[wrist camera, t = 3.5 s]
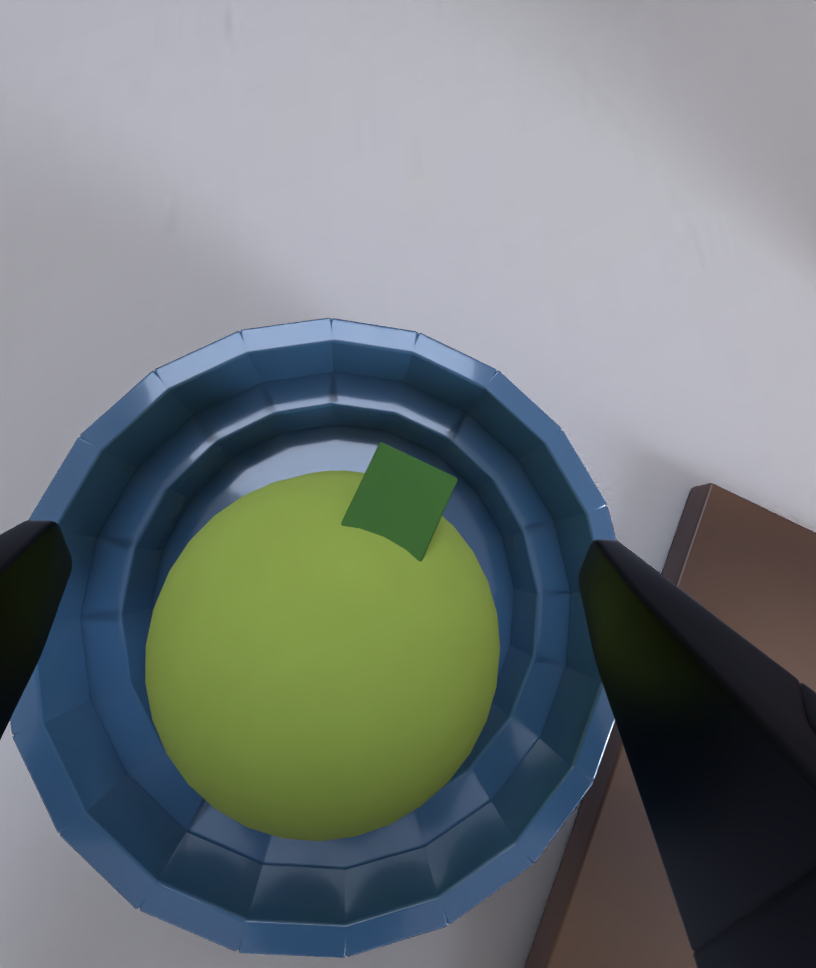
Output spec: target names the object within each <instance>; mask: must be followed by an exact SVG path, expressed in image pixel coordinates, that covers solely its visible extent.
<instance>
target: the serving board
mask: <svg viewBox="0 0 816 968" xmlns="http://www.w3.org/2000/svg"><path fill="white" fill-rule="evenodd" d="M662 575H663V576H664V577H665V578H667V579H668V580H669V581H671V582H672V583H673V584H675V585H676V586H677V587H679V588H680V589H681V590H682V591H684V592H685V593H686V594H688V595H689V596H690V597H692V598H693V599H694V600H696V601H697V602H698V603H699V604H701V605H702V606H703V607H705V608H706V609H707V610H709V611H710V612H711V613H713V614H714V615H715V616H716V617H718V618H719V619H720V620H722V621H723V622H724V623H726V624H727V625H728V626H729V627H731V628H732V629H733V630H735V631H736V632H737V633H739V634H740V635H741V636H743V637H744V638H745V639H746V640H748V641H749V642H750V643H752V644H753V645H754V646H756V647H757V648H758V649H760V650H761V651H762V652H763V653H765V654H766V655H767V656H769V657H770V658H771V659H773V660H774V661H775V662H777V663H778V664H779V665H780V666H782V667H783V668H784V669H786V670H787V671H788V672H790V673H791V674H792V675H794V676H795V677H796V678H797V679H798V680H799V683H804V684H805V685H807V686H808V687H809V688H811V689H812V690H813V691H815V692H816V533H814V532H812V531H810V530H808V529H806V528H804V527H802V526H800V525H798V524H796V523H794V522H792V521H790V520H787V519H785V518H783V517H781V516H779V515H777V514H775V513H773V512H771V511H769V510H767V509H765V508H763V507H760V506H758V505H756V504H754V503H752V502H750V501H748V500H746V499H744V498H742V497H740V496H738V495H736V494H733V493H731V492H729V491H727V490H725V489H723V488H721V487H719V486H717V485H715V484H713V483H709V484H704V485H700V486H696V487H693V488H692V489H691V492H690V495H689V498H688V501H687V504H686V506H685V509H684V512H683V515H682V518H681V521H680V524H679V527H678V529H677V532H676V535H675V538H674V541H673V544H672V547H671V550H670V552H669V555H668V558H667V561H666V564H665V567H664V570H663V572H662ZM592 781H593V784H592V786H591V787H590V788H589V790H588V791H587V792H586V794H585V796H584V799H583V802H582V805H581V808H580V811H579V814H578V817H577V819H576V822H575V825H574V828H573V831H572V834H571V837H570V840H569V842H568V845H567V848H566V851H565V854H564V857H563V860H562V863H561V865H560V868H559V871H558V874H557V877H556V880H555V883H554V886H553V888H552V891H551V894H550V897H549V900H548V903H547V906H546V908H545V911H544V914H543V917H542V920H541V923H540V926H539V929H538V931H537V934H536V937H535V940H534V943H533V946H532V949H531V952H530V954H529V957H528V960H527V963H526V966H525V968H697V965H696V962H695V959H694V956H693V953H694V951H693V950H692V948H691V946H690V943H689V940H688V937H687V934H686V931H685V928H684V925H683V922H682V919H681V916H680V913H679V910H678V907H677V904H676V901H675V898H674V895H673V892H672V889H671V886H670V883H669V880H668V877H667V874H666V871H665V868H664V865H663V862H662V859H661V856H660V853H659V850H658V847H657V844H656V841H655V838H654V835H653V832H652V829H651V826H650V823H649V820H648V817H647V815H646V812H645V809H644V806H643V803H642V800H641V797H640V794H639V791H638V788H637V785H636V782H635V779H634V776H633V773H632V770H631V767H630V764H629V761H628V758H627V755H626V752H625V749H624V746H623V743H622V740H621V737H620V734H619V731H618V728H617V725H616V722H614V725H613V728H612V731H611V733H610V736H609V739H608V742H607V745H606V748H605V751H604V754H603V756H602V759H601V762H600V765H599V768H598V771H597V774H596V777H595V779H594V780H592Z"/></svg>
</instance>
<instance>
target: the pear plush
mask: <svg viewBox="0 0 816 968" xmlns="http://www.w3.org/2000/svg"><path fill="white" fill-rule="evenodd" d="M456 483H457V478H456V477H454V476H452V475H450V474H448V473H446V472H444V471H442V470H440V469H438V468H435V467H433V466H431V465H429V464H427V463H425V462H423V461H421V460H418V459H416V458H414V457H412V456H410V455H408V454H406V453H404V452H402V451H399V450H397V449H395V448H393V447H391V446H389V445H387V444H385V443H379V445H378V447H377V449H376V451H375V453H374V455H373V457H372V460H371V462H370V464H369V466H368V468H367V470H366V472H365V473H362V472H353V471H322V472H314V473H308V474H305V475H301V476H297V477H293V478H289V479H285V480H280V481H276V482H273V483H271V484H268V485H266V486H264V487H262V488H260V489H257V490H255V491H253V492H251V493H248V494H246V495H244V496H242V497H241V498H239V499H238V500H236V501H235V502H233V503H232V504H231V505H229V506H228V507H226V508H225V509H223V510H222V511H221V512H219V513H218V514H216V515H215V516H214V517H213V518H212V519H211V520H210V521H209V522H208V523H207V524H206V525H205V526H204V527H203V528H202V529H201V530H200V531H199V532H198V533H197V534H196V535H195V536H194V537H193V538H192V539H191V540H190V541H189V542H188V544H187V545H186V547H185V548H184V550H183V551H182V553H181V554H180V556H179V557H178V559H177V560H176V562H175V563H174V565H173V566H172V568H171V569H170V571H169V573H168V575H167V578H166V580H165V583H164V585H163V587H162V590H161V592H160V595H159V597H158V599H157V602H156V604H155V607H154V609H153V614H152V618H151V623H150V628H149V633H148V637H147V642H146V662H145V685H146V690H147V695H148V700H149V705H150V710H151V715H152V720H153V723H154V725H155V727H156V730H157V732H158V734H159V737H160V739H161V741H162V744H163V746H164V749H165V751H166V753H167V755H168V756H169V758H170V759H171V761H172V762H173V764H174V765H175V766H176V768H177V769H178V771H179V772H180V774H181V775H182V776H183V778H184V779H185V781H186V782H187V783H188V785H189V786H191V787H192V788H193V789H194V790H195V791H196V792H197V793H198V794H199V795H200V796H201V797H203V798H204V799H205V800H206V801H207V802H208V803H209V804H210V805H211V806H212V807H213V808H215V809H216V810H218V811H219V812H221V813H223V814H225V815H226V816H228V817H230V818H232V819H233V820H235V821H237V822H239V823H240V824H242V825H244V826H245V827H248V828H251V829H254V830H257V831H260V832H264V833H267V834H270V835H273V836H276V837H280V838H285V839H297V840H308V841H325V840H333V839H341V838H349V837H356V836H358V835H361V834H364V833H367V832H370V831H373V830H376V829H379V828H382V827H385V826H387V825H390V824H392V823H393V822H395V821H397V820H398V819H400V818H402V817H404V816H405V815H407V814H409V813H410V812H412V811H414V810H415V809H417V808H419V807H421V806H422V805H423V804H424V803H425V802H426V801H427V800H429V799H430V798H431V797H432V796H433V795H434V794H435V793H436V792H438V791H439V790H440V789H441V788H442V787H443V786H444V785H445V784H447V783H448V782H449V780H450V779H451V778H452V776H453V775H454V774H455V773H456V771H457V770H458V769H459V767H460V766H461V765H462V763H463V762H464V761H465V760H466V758H467V757H468V756H469V754H470V753H471V751H472V749H473V747H474V745H475V743H476V741H477V739H478V737H479V735H480V733H481V731H482V729H483V727H484V725H485V723H486V721H487V718H488V714H489V711H490V707H491V704H492V700H493V697H494V694H495V690H496V686H497V675H498V665H499V655H500V640H499V629H498V617H497V611H496V608H495V604H494V601H493V597H492V593H491V590H490V586H489V583H488V580H487V578H486V576H485V574H484V572H483V570H482V568H481V566H480V564H479V562H478V560H477V558H476V556H475V554H474V552H473V551H472V550H471V548H470V547H469V546H468V544H467V543H466V542H465V540H464V539H463V538H462V536H461V535H460V534H459V532H458V531H457V530H456V528H455V527H454V526H453V525H452V524H451V523H450V522H448V521H447V520H446V519H445V518H444V517H443V516H442V514H443V512H444V510H445V508H446V505H447V503H448V501H449V499H450V496H451V494H452V492H453V490H454V487H455V485H456Z"/></svg>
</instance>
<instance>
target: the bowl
mask: <svg viewBox="0 0 816 968" xmlns="http://www.w3.org/2000/svg"><path fill="white" fill-rule="evenodd" d="M80 436H81V437H79V438H78V439H77V440H76V442H75V444H74V445H73V447H72V449H71V450H70V452H69V454H68V455H67V457H66V459H65V460H64V462H63V463H62V465H61V467H60V468H59V470H58V472H57V473H56V475H55V477H54V478H53V480H52V482H51V483H50V485H49V487H48V488H47V490H46V492H45V493H44V495H43V497H42V498H41V500H40V502H39V503H38V505H37V507H36V508H35V510H34V512H33V513H32V515H31V517H30V518H29V520H45V521H54V522H56V523H57V524H58V525H59V526H60V528H61V530H62V533H63V535H64V538H65V541H66V543H67V546H68V549H69V551H70V554H71V557H72V571H71V574H70V577H69V580H68V583H67V585H66V588H65V591H64V594H63V597H62V599H61V602H60V605H59V608H58V611H57V613H56V616H55V619H54V622H53V625H52V627H51V630H50V633H49V636H48V639H47V642H46V644H45V647H44V649H43V652H42V654H41V657H40V659H39V661H38V663H37V665H36V668H35V670H34V672H33V674H32V676H31V678H30V680H29V682H28V684H27V686H26V688H25V690H24V692H23V694H22V696H21V698H20V700H19V702H18V704H17V706H16V708H15V710H14V712H13V715H12V717H11V719H10V720H11V730H12V734H14V735H13V739H14V741H15V743H16V746H17V748H18V750H19V752H20V754H21V756H22V758H23V760H24V762H25V764H26V767H27V769H28V771H29V773H30V775H31V777H32V779H33V781H34V783H35V786H36V788H37V790H38V792H39V794H40V796H41V798H42V800H43V802H44V804H45V807H46V809H47V811H48V813H49V815H50V817H51V819H52V821H53V823H54V826H55V828H56V830H57V832H58V833H60V836H61V837H62V838H63V839H64V840H65V841H66V842H67V843H68V844H69V845H70V846H71V847H72V848H73V849H74V850H75V851H76V852H77V853H78V854H80V855H81V856H82V857H83V858H84V859H85V860H86V861H87V862H88V863H89V864H90V865H91V866H92V867H93V868H94V869H95V870H96V871H97V872H98V873H99V874H100V875H101V876H102V877H103V878H104V879H105V880H106V881H107V882H108V883H110V884H111V885H112V886H113V887H114V888H115V889H116V890H117V891H118V892H119V893H120V894H121V895H122V896H123V897H124V898H125V899H126V900H127V901H128V902H129V903H130V904H131V905H132V906H133V907H134V908H135V909H138V908H140V911H142V912H144V913H146V914H149V915H151V916H154V917H156V918H158V919H161V920H163V921H165V922H168V923H170V924H172V925H175V926H177V927H179V928H182V929H184V930H186V931H189V932H191V933H193V934H196V935H198V936H200V937H203V938H205V939H207V940H210V941H212V942H214V943H217V944H219V945H221V946H224V947H226V948H228V949H231V950H233V951H237V950H239V953H250V954H272V955H294V956H316V957H339V958H343V957H345V955H347V956H348V957H349V956H353V955H356V954H359V953H362V952H365V951H369V950H372V949H375V948H378V947H382V946H385V945H388V944H391V943H395V942H398V941H401V940H404V939H408V938H411V937H414V936H417V935H420V934H424V933H427V932H430V931H433V930H437V929H440V928H443V927H446V926H447V923H448V924H451V923H453V922H454V921H455V920H457V919H458V918H460V917H461V916H462V915H464V914H465V913H466V912H468V911H469V910H471V909H472V908H473V907H475V906H476V905H478V904H479V903H480V902H482V901H483V900H484V899H486V898H487V897H489V896H490V895H491V894H493V893H494V892H495V891H497V890H498V889H500V888H501V887H502V886H504V885H505V884H507V883H508V882H509V881H511V880H512V879H513V878H515V877H516V876H518V875H519V874H520V873H522V872H523V871H524V870H526V869H527V868H529V867H530V866H531V865H532V863H535V862H536V861H537V859H538V858H539V856H540V855H541V854H542V852H543V851H544V850H545V848H546V847H547V846H548V844H549V843H550V841H551V840H552V839H553V837H554V836H555V835H556V833H557V832H558V831H559V829H560V828H561V826H562V825H563V824H564V822H565V821H566V820H567V818H568V817H569V816H570V814H571V813H572V811H573V810H574V809H575V807H576V806H577V805H578V803H579V802H580V801H581V799H582V798H583V796H584V795H585V794H586V792H587V791H588V790H589V788H590V787H591V786H592V784H593V781H592V780H594V779H595V777H596V774H597V771H598V768H599V765H600V762H601V759H602V756H603V754H604V751H605V748H606V745H607V742H608V739H609V736H610V733H611V731H612V728H613V725H614V722H615V719H614V716H613V713H612V710H611V707H610V704H609V701H608V698H607V695H606V692H605V689H604V686H603V683H602V680H601V677H600V674H599V671H598V668H597V665H596V661H595V658H594V654H593V650H592V645H591V640H590V636H589V631H588V627H587V622H586V617H585V613H584V608H583V603H582V599H581V594H580V589H579V584H578V574H579V570H580V568H581V565H582V563H583V560H584V558H585V555H586V553H587V550H588V548H589V546H590V544H591V543H592V542H593V541H594V540H597V539H602V540H616V537H615V533H614V529H613V525H612V521H611V517H610V513H609V509H608V507H607V506H606V502H605V500H604V499H603V497H602V495H601V494H600V492H599V490H598V489H597V487H596V485H595V484H594V482H593V480H592V478H591V477H590V475H589V473H588V472H587V470H586V468H585V467H584V465H583V463H582V462H581V460H580V458H579V457H578V455H577V453H576V452H575V450H574V448H573V447H572V445H571V443H570V442H569V440H568V438H567V437H566V435H565V433H564V432H563V431H562V430H561V427H560V426H559V425H557V424H556V423H555V422H554V421H553V420H552V419H551V418H550V417H549V416H548V415H547V414H545V413H544V412H543V411H542V410H541V409H540V408H539V407H538V406H537V405H536V404H535V403H533V402H532V401H531V400H530V399H529V398H528V397H527V396H526V395H525V394H524V393H523V392H521V391H520V390H519V389H518V388H517V387H516V386H515V385H514V384H513V383H512V382H511V381H509V380H508V379H507V378H506V377H505V376H504V375H503V374H502V373H501V372H500V371H496V369H495V368H492V367H490V366H488V365H486V364H484V363H482V362H480V361H478V360H476V359H474V358H472V357H470V356H468V355H466V354H463V353H461V352H459V351H457V350H455V349H453V348H451V347H449V346H447V345H445V344H443V343H441V342H439V341H436V340H434V339H432V338H430V337H428V336H426V335H424V334H422V333H419V334H418V333H417V332H416V331H410V330H404V329H397V328H391V327H385V326H378V325H372V324H366V323H359V322H353V321H347V320H340V319H330V318H324V319H317V320H310V321H302V322H295V323H288V324H280V325H273V326H266V327H259V328H251V329H244V330H241V331H237V332H235V333H233V334H231V335H229V336H226V337H224V338H222V339H220V340H218V341H215V342H213V343H211V344H209V345H207V346H205V347H202V348H200V349H198V350H196V351H194V352H191V353H189V354H187V355H185V356H183V357H181V358H178V359H176V360H174V361H172V362H170V363H168V364H165V365H163V366H161V367H159V368H157V369H155V372H154V371H152V372H150V373H149V374H148V375H147V376H146V377H145V378H144V379H143V380H141V381H140V382H139V383H138V384H137V385H136V386H135V387H134V388H132V389H131V390H130V391H129V392H128V393H127V394H126V395H125V396H123V397H122V398H121V399H120V400H119V401H118V402H117V403H116V404H114V405H113V406H112V407H111V408H110V409H109V410H108V411H106V412H105V413H104V414H103V415H102V416H101V417H100V418H99V419H97V420H96V421H95V422H94V423H93V424H92V425H91V426H90V427H88V428H87V429H86V430H85V431H84V432H83V433H82V434H81V435H80ZM379 443H385V444H387V445H389V446H391V447H393V448H395V449H397V450H399V451H402V452H404V453H406V454H408V455H410V456H412V457H414V458H416V459H418V460H421V461H423V462H425V463H427V464H429V465H431V466H433V467H435V468H438V469H440V470H442V471H444V472H446V473H448V474H450V475H452V476H454V477H456V478H457V483H456V485H455V487H454V490H453V492H452V494H451V496H450V499H449V501H448V503H447V505H446V508H445V510H444V512H443V514H442V516H443V517H444V518H445V519H446V520H447V521H448V522H450V523H451V524H452V525H453V526H454V527H455V528H456V530H457V531H458V532H459V534H460V535H461V536H462V538H463V539H464V540H465V542H466V543H467V544H468V546H469V547H470V548H471V550H472V551H473V552H474V554H475V556H476V558H477V560H478V562H479V564H480V566H481V568H482V570H483V572H484V574H485V576H486V578H487V580H488V583H489V586H490V590H491V593H492V597H493V601H494V604H495V608H496V611H497V617H498V629H499V640H500V655H499V665H498V675H497V686H496V690H495V694H494V697H493V700H492V704H491V707H490V711H489V714H488V718H487V721H486V723H485V725H484V727H483V729H482V731H481V733H480V735H479V737H478V739H477V741H476V743H475V745H474V747H473V749H472V751H471V753H470V754H469V756H468V757H467V758H466V760H465V761H464V762H463V763H462V765H461V766H460V767H459V769H458V770H457V771H456V773H455V774H454V775H453V776H452V778H451V779H450V780H449V782H448V783H447V784H445V785H444V786H443V787H442V788H441V789H440V790H439V791H438V792H436V793H435V794H434V795H433V796H432V797H431V798H430V799H429V800H427V801H426V802H425V803H424V804H423V805H422V806H421V807H419V808H417V809H415V810H414V811H412V812H410V813H409V814H407V815H405V816H404V817H402V818H400V819H398V820H397V821H395V822H393V823H392V824H390V825H387V826H385V827H382V828H379V829H376V830H373V831H370V832H367V833H364V834H361V835H358V836H356V837H349V838H341V839H333V840H325V841H308V840H297V839H285V838H280V837H276V836H273V835H270V834H267V833H264V832H260V831H257V830H254V829H251V828H248V827H245V826H244V825H242V824H240V823H239V822H237V821H235V820H233V819H232V818H230V817H228V816H226V815H225V814H223V813H221V812H219V811H218V810H216V809H215V808H213V807H212V806H211V805H210V804H209V803H208V802H207V801H206V800H205V799H204V798H203V797H201V796H200V795H199V794H198V793H197V792H196V791H195V790H194V789H193V788H192V787H191V786H189V785H188V783H187V782H186V781H185V779H184V778H183V776H182V775H181V774H180V772H179V771H178V769H177V768H176V766H175V765H174V764H173V762H172V761H171V759H170V758H169V756H168V755H167V753H166V751H165V749H164V746H163V744H162V741H161V739H160V737H159V734H158V732H157V730H156V727H155V725H154V723H153V720H152V715H151V710H150V705H149V700H148V695H147V690H146V685H145V662H146V642H147V637H148V633H149V628H150V623H151V618H152V614H153V609H154V607H155V604H156V602H157V599H158V597H159V595H160V592H161V590H162V587H163V585H164V583H165V580H166V578H167V575H168V573H169V571H170V569H171V568H172V566H173V565H174V563H175V562H176V560H177V559H178V557H179V556H180V554H181V553H182V551H183V550H184V548H185V547H186V545H187V544H188V542H189V541H190V540H191V539H192V538H193V537H194V536H195V535H196V534H197V533H198V532H199V531H200V530H201V529H202V528H203V527H204V526H205V525H206V524H207V523H208V522H209V521H210V520H211V519H212V518H213V517H214V516H215V515H216V514H218V513H219V512H221V511H222V510H223V509H225V508H226V507H228V506H229V505H231V504H232V503H233V502H235V501H236V500H238V499H239V498H241V497H242V496H244V495H246V494H248V493H251V492H253V491H255V490H257V489H260V488H262V487H264V486H266V485H268V484H271V483H273V482H276V481H280V480H285V479H289V478H293V477H297V476H301V475H305V474H308V473H314V472H322V471H353V472H362V473H365V472H366V470H367V468H368V466H369V464H370V462H371V460H372V457H373V455H374V453H375V451H376V449H377V447H378V445H379Z"/></svg>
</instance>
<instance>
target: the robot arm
mask: <svg viewBox="0 0 816 968" xmlns="http://www.w3.org/2000/svg"><path fill="white" fill-rule="evenodd" d="M71 571H72V557H71V554H70V551H69V549H68V546H67V543H66V541H65V538H64V535H63V533H62V530H61V528H60V526H59V525H58V524H57V523H56V522H54V521H45V520H28V521H25V522H23V523H21V524H19V525H17V526H15V527H14V528H12V529H10V530H8V531H6V532H5V533H3V534H1V535H0V739H1V737H2V735H3V733H4V731H5V729H6V727H7V725H8V723H9V721H10V719H11V717H12V715H13V712H14V710H15V708H16V706H17V704H18V702H19V700H20V698H21V696H22V694H23V692H24V690H25V688H26V686H27V684H28V682H29V680H30V678H31V676H32V674H33V672H34V670H35V668H36V665H37V663H38V661H39V659H40V657H41V654H42V652H43V649H44V647H45V644H46V642H47V639H48V636H49V633H50V630H51V627H52V625H53V622H54V619H55V616H56V613H57V611H58V608H59V605H60V602H61V599H62V597H63V594H64V591H65V588H66V585H67V583H68V580H69V577H70V574H71ZM578 584H579V589H580V594H581V599H582V603H583V608H584V613H585V617H586V622H587V627H588V631H589V636H590V640H591V645H592V650H593V654H594V658H595V661H596V665H597V668H598V671H599V674H600V677H601V680H602V683H603V686H604V689H605V692H606V695H607V698H608V701H609V704H610V707H611V710H612V713H613V716H614V719H615V722H616V725H617V728H618V731H619V734H620V737H621V740H622V743H623V746H624V749H625V752H626V755H627V758H628V761H629V764H630V767H631V770H632V773H633V776H634V779H635V782H636V785H637V788H638V791H639V794H640V797H641V800H642V803H643V806H644V809H645V812H646V815H647V817H648V820H649V823H650V826H651V829H652V832H653V835H654V838H655V841H656V844H657V847H658V850H659V853H660V856H661V859H662V862H663V865H664V868H665V871H666V874H667V877H668V880H669V883H670V886H671V889H672V892H673V895H674V898H675V901H676V904H677V907H678V910H679V913H680V916H681V919H682V922H683V925H684V928H685V931H686V934H687V937H688V940H689V943H690V946H691V948H692V950H693V951H694V953H693V956H694V959H695V962H696V965H697V968H816V692H815V691H813V690H812V689H811V688H809V687H808V686H807V685H805V684H804V683H799V680H798V679H797V678H796V677H795V676H794V675H792V674H791V673H790V672H788V671H787V670H786V669H784V668H783V667H782V666H780V665H779V664H778V663H777V662H775V661H774V660H773V659H771V658H770V657H769V656H767V655H766V654H765V653H763V652H762V651H761V650H760V649H758V648H757V647H756V646H754V645H753V644H752V643H750V642H749V641H748V640H746V639H745V638H744V637H743V636H741V635H740V634H739V633H737V632H736V631H735V630H733V629H732V628H731V627H729V626H728V625H727V624H726V623H724V622H723V621H722V620H720V619H719V618H718V617H716V616H715V615H714V614H713V613H711V612H710V611H709V610H707V609H706V608H705V607H703V606H702V605H701V604H699V603H698V602H697V601H696V600H694V599H693V598H692V597H690V596H689V595H688V594H686V593H685V592H684V591H682V590H681V589H680V588H679V587H677V586H676V585H675V584H673V583H672V582H671V581H669V580H668V579H667V578H665V577H664V576H663V575H662V574H660V573H659V572H658V571H656V570H655V569H654V568H652V567H651V566H650V565H648V564H647V563H646V562H645V561H643V560H642V559H641V558H639V557H638V556H637V555H635V554H634V553H633V552H631V551H630V550H629V549H628V548H626V547H625V546H624V545H622V544H621V543H620V542H618V541H616V540H602V539H597V540H594V541H593V542H592V543H591V544H590V546H589V548H588V550H587V553H586V555H585V558H584V560H583V563H582V565H581V568H580V570H579V574H578Z"/></svg>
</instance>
